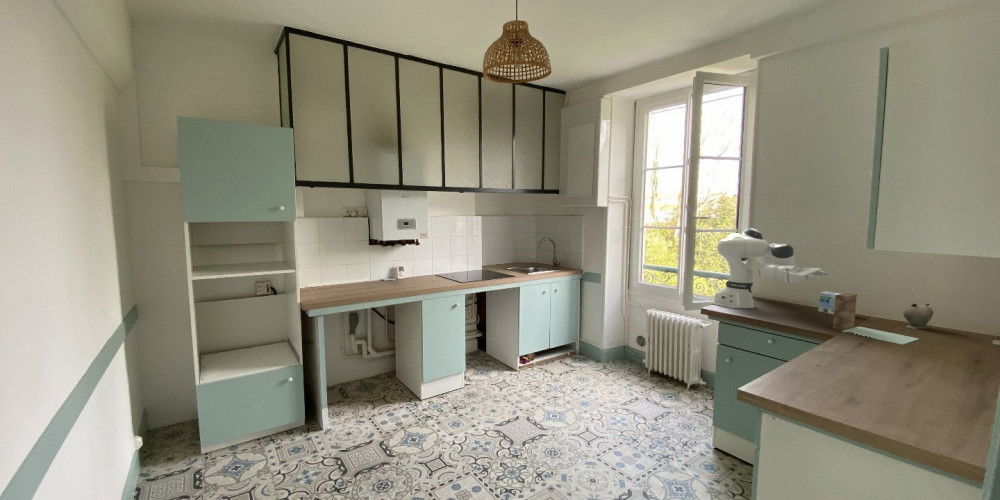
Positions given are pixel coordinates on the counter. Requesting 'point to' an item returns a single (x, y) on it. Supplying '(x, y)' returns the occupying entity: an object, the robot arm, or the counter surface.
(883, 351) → the counter surface
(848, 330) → the sage board
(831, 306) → the light bulb box
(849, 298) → the walnut domino
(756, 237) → the robot arm
